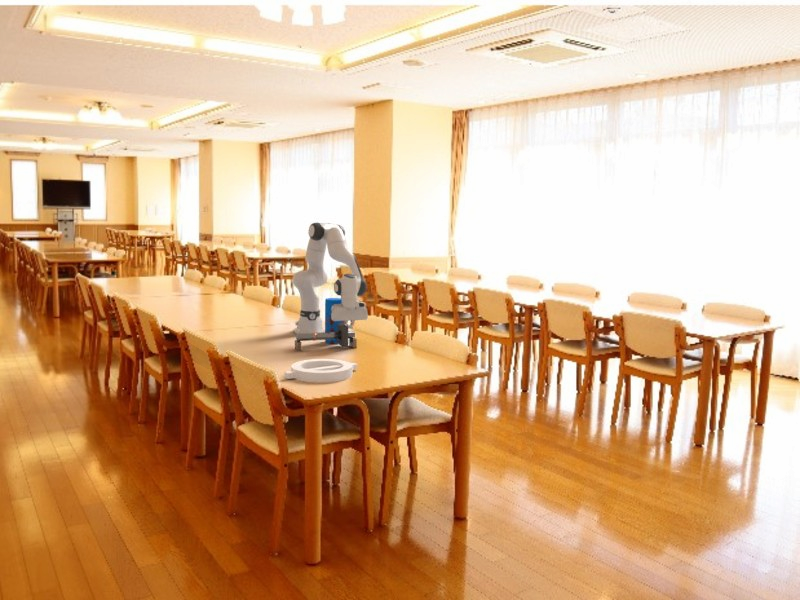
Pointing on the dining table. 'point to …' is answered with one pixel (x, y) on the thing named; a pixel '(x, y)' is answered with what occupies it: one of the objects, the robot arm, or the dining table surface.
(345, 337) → the collar
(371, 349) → the dining table surface
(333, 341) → the thermos
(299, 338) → the pipe rig
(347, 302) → the robot arm
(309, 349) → the dining table surface
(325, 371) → the ring with crossbar
